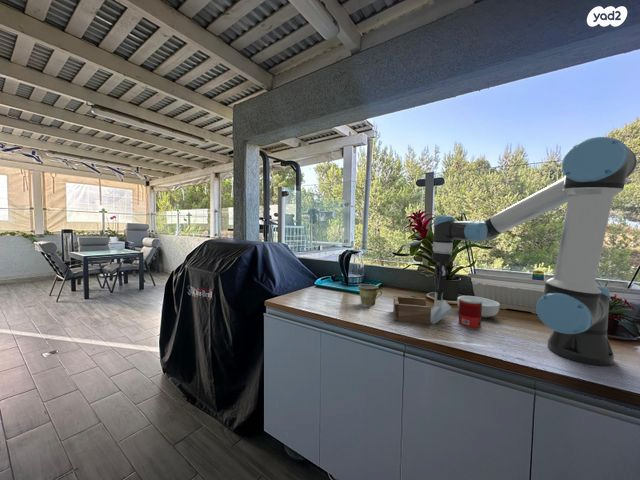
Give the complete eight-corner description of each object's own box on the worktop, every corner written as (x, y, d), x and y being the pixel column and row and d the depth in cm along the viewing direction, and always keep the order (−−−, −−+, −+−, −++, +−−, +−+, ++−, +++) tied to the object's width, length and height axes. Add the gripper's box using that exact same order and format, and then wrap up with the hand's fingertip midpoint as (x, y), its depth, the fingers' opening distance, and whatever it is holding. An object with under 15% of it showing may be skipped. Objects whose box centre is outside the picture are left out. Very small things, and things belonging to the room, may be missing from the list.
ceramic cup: (354, 305, 133) (354, 285, 133) (366, 301, 140) (366, 283, 140) (375, 311, 124) (375, 290, 123) (386, 307, 130) (387, 287, 130)
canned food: (484, 330, 102) (485, 303, 102) (462, 328, 104) (463, 301, 103) (476, 323, 110) (477, 297, 109) (456, 321, 111) (457, 296, 111)
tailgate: (453, 310, 104) (451, 307, 104) (433, 324, 106) (430, 322, 106) (446, 302, 115) (444, 300, 115) (428, 315, 117) (426, 313, 117)
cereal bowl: (482, 324, 109) (483, 307, 109) (448, 312, 125) (449, 297, 124) (507, 318, 116) (508, 303, 116) (472, 307, 132) (473, 294, 131)
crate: (433, 327, 105) (433, 307, 105) (394, 323, 108) (395, 304, 108) (427, 315, 119) (428, 298, 118) (393, 312, 122) (393, 295, 122)
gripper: (429, 250, 117) (426, 301, 119) (435, 253, 104) (431, 310, 106) (447, 251, 115) (443, 302, 117) (455, 254, 102) (451, 312, 104)
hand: (437, 306), depth 111 cm, fingers closed
